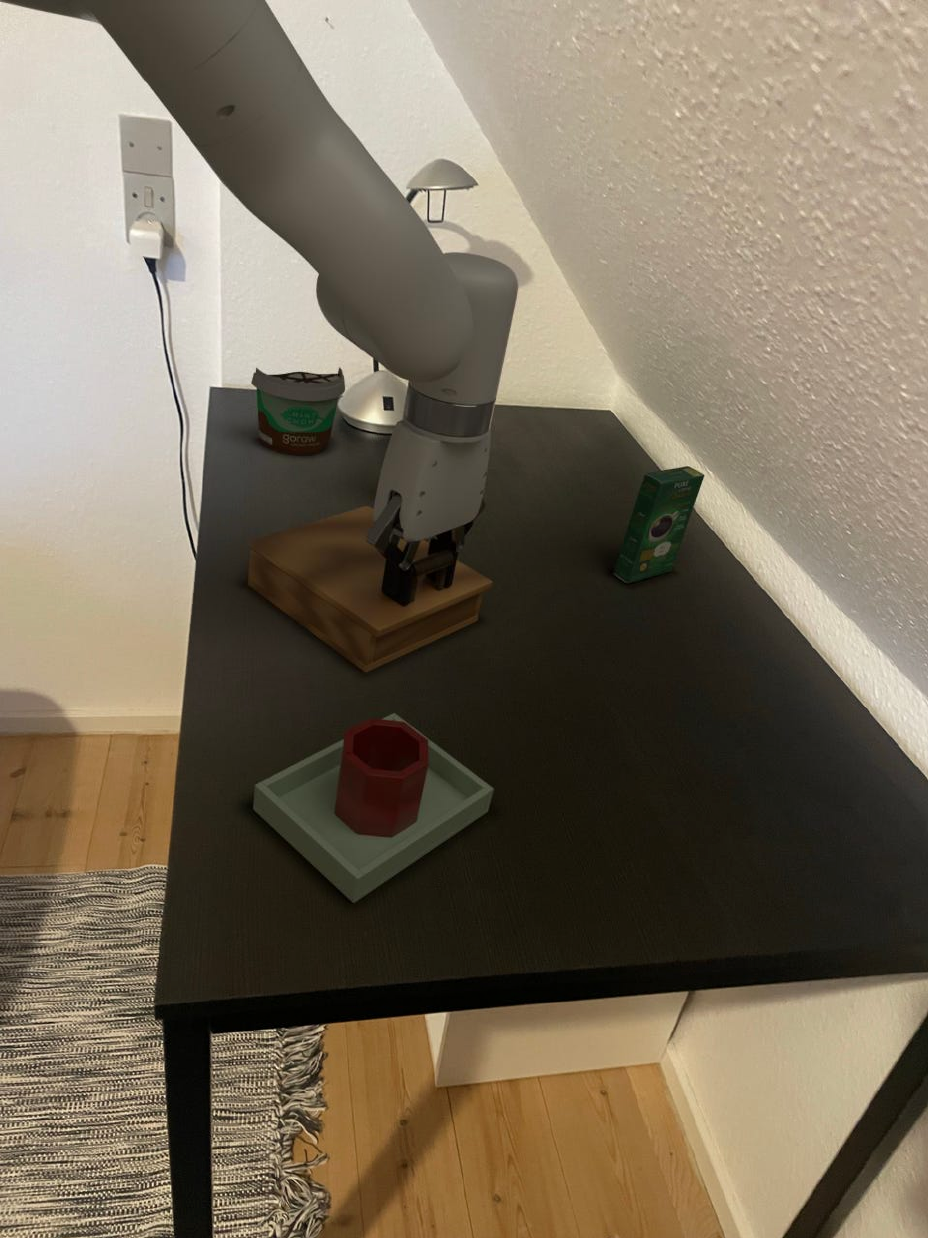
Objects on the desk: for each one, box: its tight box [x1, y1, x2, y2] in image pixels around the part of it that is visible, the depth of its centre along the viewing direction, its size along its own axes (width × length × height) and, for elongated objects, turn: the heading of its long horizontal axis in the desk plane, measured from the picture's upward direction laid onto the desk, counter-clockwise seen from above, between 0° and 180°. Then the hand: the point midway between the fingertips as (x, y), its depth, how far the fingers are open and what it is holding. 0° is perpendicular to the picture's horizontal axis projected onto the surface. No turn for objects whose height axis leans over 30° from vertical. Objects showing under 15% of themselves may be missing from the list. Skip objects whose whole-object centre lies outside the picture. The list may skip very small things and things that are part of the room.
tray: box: [252, 712, 495, 904], centre depth 71 cm, size 14×11×2 cm
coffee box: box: [612, 465, 705, 584], centre depth 109 cm, size 8×3×13 cm, turn 127°
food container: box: [250, 366, 346, 457], centre depth 121 cm, size 12×6×10 cm, turn 117°
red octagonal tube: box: [335, 717, 429, 837], centre depth 70 cm, size 6×6×6 cm
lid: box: [249, 505, 493, 638], centre depth 92 cm, size 18×16×5 cm
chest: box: [247, 547, 484, 674], centre depth 95 cm, size 18×16×4 cm
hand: (416, 588), depth 90 cm, fingers closed on lid, 5 cm apart
